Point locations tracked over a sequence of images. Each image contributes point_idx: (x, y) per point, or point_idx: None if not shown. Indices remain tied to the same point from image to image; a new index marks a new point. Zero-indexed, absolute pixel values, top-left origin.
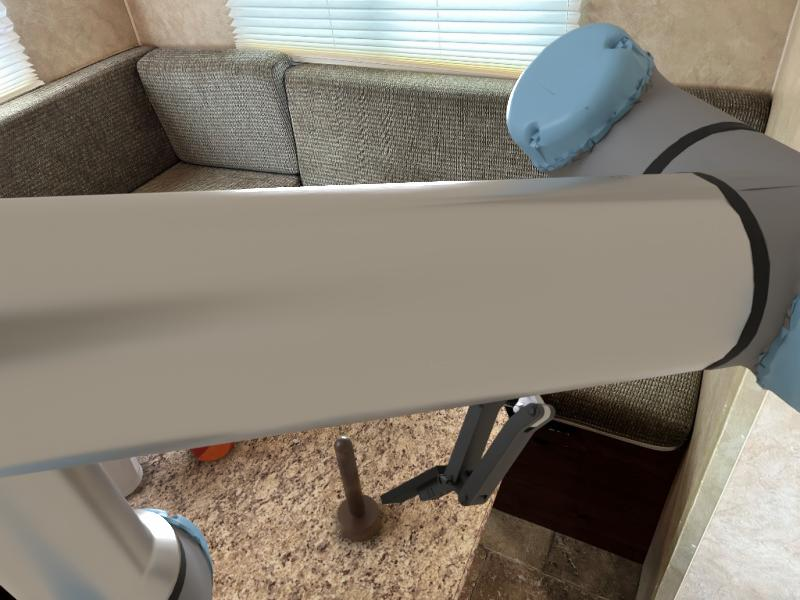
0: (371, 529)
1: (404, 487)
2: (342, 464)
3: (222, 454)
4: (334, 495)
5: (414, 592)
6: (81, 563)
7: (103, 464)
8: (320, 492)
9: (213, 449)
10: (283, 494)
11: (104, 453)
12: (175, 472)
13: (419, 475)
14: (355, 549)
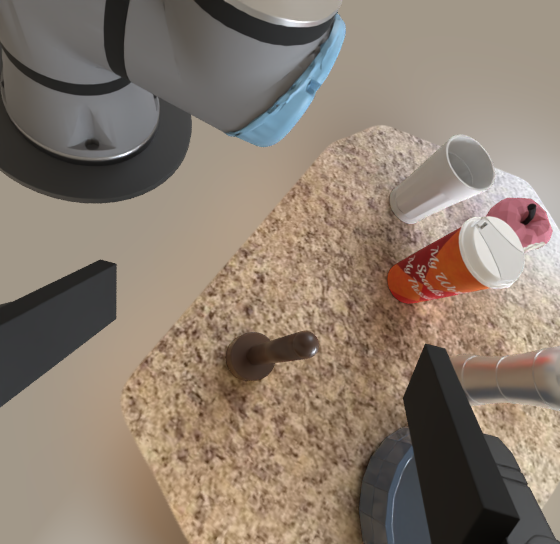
0: (229, 358)
1: (57, 287)
2: (286, 336)
3: (389, 283)
4: None
5: (143, 361)
6: None
7: (423, 174)
8: None
9: (397, 273)
10: (321, 309)
11: None
12: (392, 243)
13: (19, 313)
14: (225, 336)
